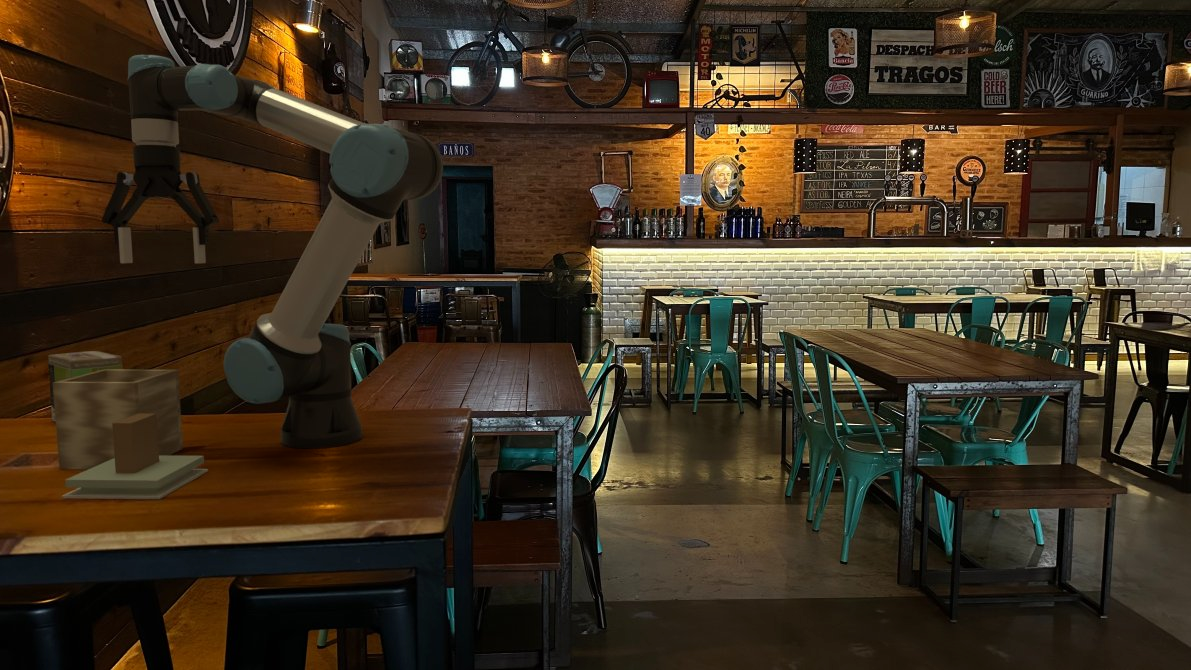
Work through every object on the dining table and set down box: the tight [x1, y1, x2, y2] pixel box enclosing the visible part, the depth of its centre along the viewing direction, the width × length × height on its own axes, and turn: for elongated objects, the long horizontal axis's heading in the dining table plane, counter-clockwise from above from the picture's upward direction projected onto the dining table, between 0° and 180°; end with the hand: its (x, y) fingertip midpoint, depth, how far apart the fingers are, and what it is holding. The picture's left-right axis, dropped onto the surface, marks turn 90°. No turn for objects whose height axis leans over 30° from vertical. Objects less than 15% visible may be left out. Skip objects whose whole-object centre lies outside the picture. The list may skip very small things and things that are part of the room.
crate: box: [53, 369, 184, 470], centre depth 147 cm, size 14×14×15 cm
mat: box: [61, 468, 209, 500], centre depth 133 cm, size 15×15×1 cm
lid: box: [64, 414, 205, 493], centre depth 132 cm, size 14×14×10 cm
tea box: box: [47, 350, 124, 423], centre depth 175 cm, size 15×10×15 cm, turn 49°
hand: (163, 263), depth 152 cm, fingers open, 13 cm apart
